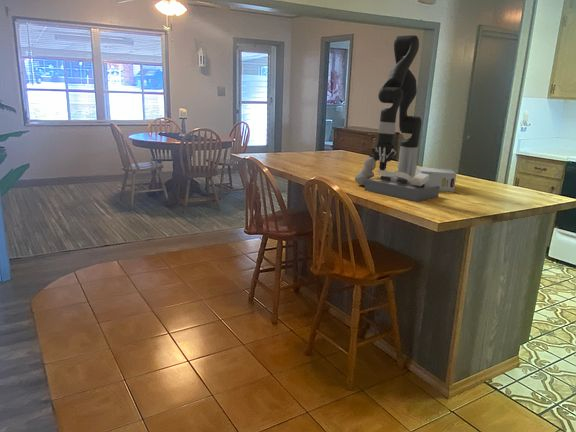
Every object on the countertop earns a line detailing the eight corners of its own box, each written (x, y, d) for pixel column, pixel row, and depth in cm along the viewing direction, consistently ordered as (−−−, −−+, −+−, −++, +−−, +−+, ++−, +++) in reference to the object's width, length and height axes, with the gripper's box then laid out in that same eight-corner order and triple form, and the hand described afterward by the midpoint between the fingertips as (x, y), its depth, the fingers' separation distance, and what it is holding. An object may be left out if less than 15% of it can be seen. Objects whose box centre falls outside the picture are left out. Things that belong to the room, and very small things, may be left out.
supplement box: (418, 189, 222) (420, 170, 220) (414, 184, 235) (416, 166, 232) (454, 192, 220) (457, 172, 218) (448, 186, 233) (450, 168, 230)
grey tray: (387, 185, 227) (388, 173, 226) (438, 196, 208) (440, 182, 206) (364, 190, 215) (365, 176, 214) (416, 201, 196) (418, 187, 194)
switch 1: (385, 175, 220) (386, 170, 220) (394, 176, 217) (395, 171, 216) (377, 174, 215) (378, 169, 215) (386, 176, 212) (387, 170, 211)
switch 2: (401, 179, 214) (402, 174, 214) (410, 181, 210) (411, 176, 210) (393, 175, 209) (394, 170, 209) (402, 177, 205) (404, 172, 205)
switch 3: (419, 177, 207) (419, 172, 206) (429, 179, 204) (429, 174, 203) (410, 184, 204) (410, 179, 202) (420, 186, 200) (420, 181, 199)
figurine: (374, 187, 221) (377, 157, 217) (353, 186, 223) (356, 155, 219) (375, 184, 229) (377, 154, 225) (354, 183, 231) (357, 153, 227)
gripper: (403, 133, 207) (398, 171, 211) (379, 131, 216) (375, 167, 220) (394, 133, 202) (389, 172, 206) (369, 131, 211) (366, 168, 215)
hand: (382, 170), depth 213 cm, fingers closed
